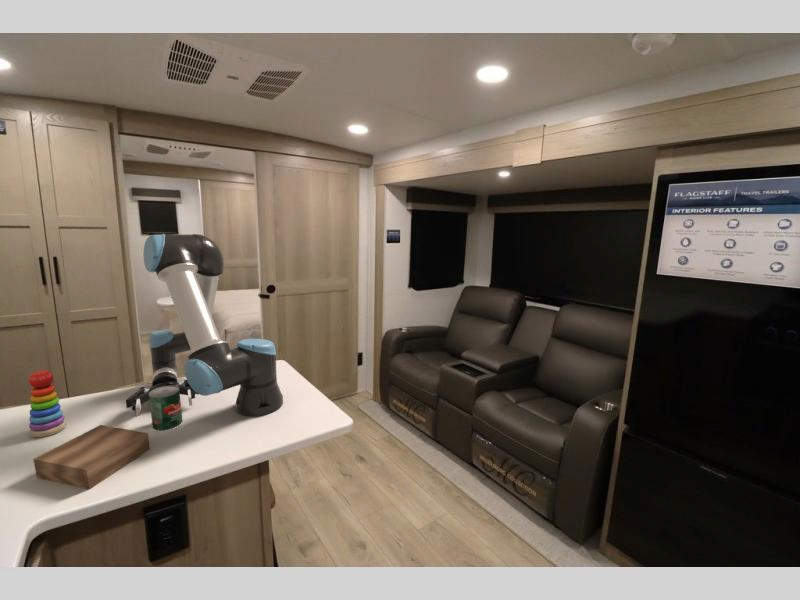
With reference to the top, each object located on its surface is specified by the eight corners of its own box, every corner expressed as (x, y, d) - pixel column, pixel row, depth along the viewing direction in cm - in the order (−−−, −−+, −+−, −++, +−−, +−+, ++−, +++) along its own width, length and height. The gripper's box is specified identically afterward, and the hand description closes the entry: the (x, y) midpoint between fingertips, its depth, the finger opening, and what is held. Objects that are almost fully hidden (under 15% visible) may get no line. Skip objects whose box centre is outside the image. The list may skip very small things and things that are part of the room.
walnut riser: (150, 449, 100) (148, 432, 99) (89, 489, 85) (86, 470, 84) (103, 440, 104) (100, 424, 103) (36, 477, 88) (33, 459, 87)
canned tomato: (178, 429, 110) (175, 395, 108) (148, 432, 108) (144, 398, 106) (185, 416, 118) (182, 384, 116) (157, 419, 116) (153, 386, 113)
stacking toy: (32, 442, 102) (20, 379, 99) (27, 432, 107) (15, 371, 103) (69, 430, 109) (59, 370, 105) (63, 421, 113) (53, 364, 110)
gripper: (205, 384, 137) (211, 408, 119) (122, 399, 124) (115, 428, 106) (203, 365, 135) (209, 386, 118) (119, 378, 122) (111, 404, 105)
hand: (164, 406), depth 112 cm, fingers open, 13 cm apart
